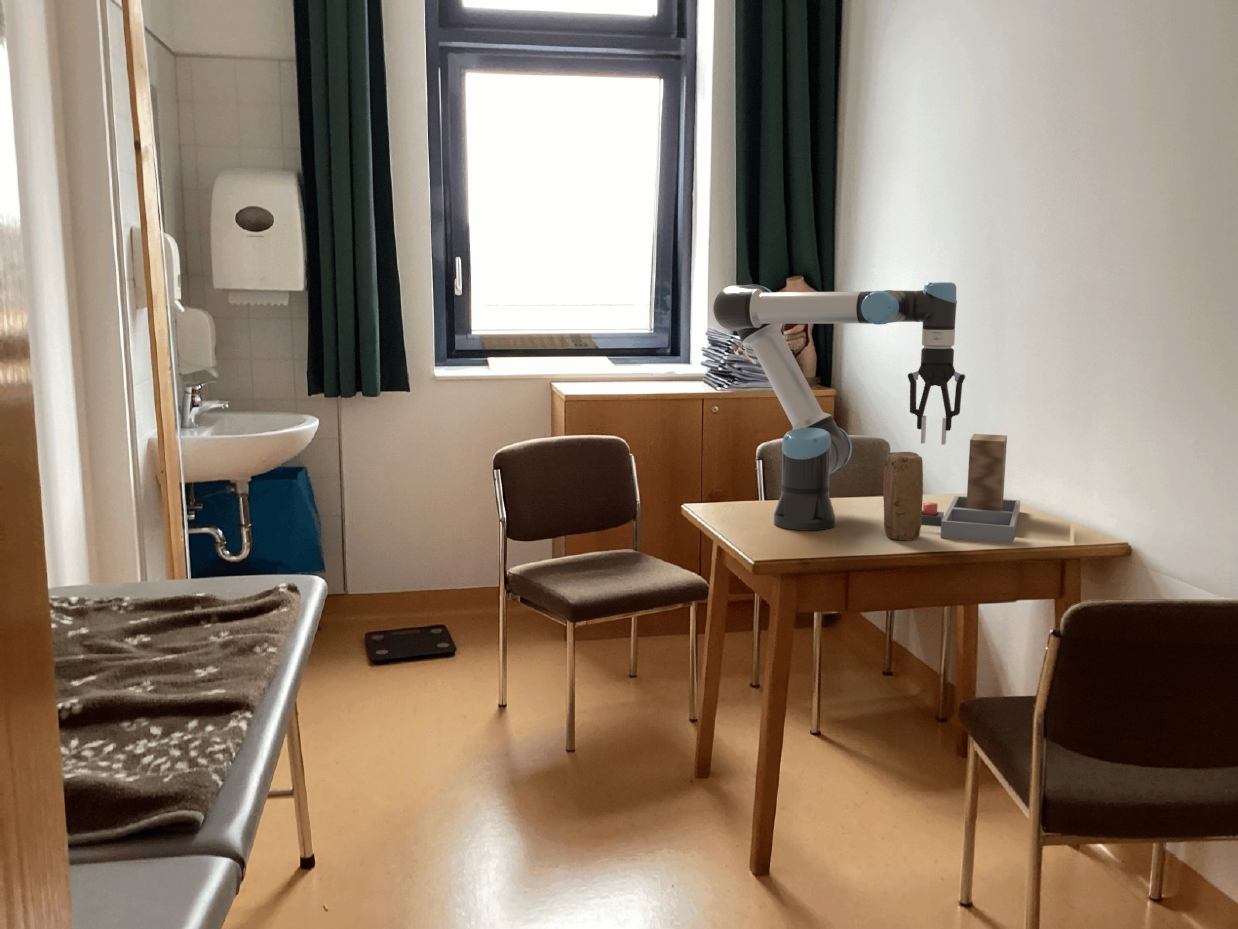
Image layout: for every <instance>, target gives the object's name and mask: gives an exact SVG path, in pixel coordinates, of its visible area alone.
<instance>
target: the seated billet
mask: <svg viewBox="0 0 1238 929" xmlns="http://www.w3.org/2000/svg"><path fill="white" fill-rule="evenodd" d="M1007 440H1008V435H1004V434H986V433H985V434H984V433H973V435H972V436H971V437H970V439H969V455H968V471H967V473H968V474H967V475H968V476H967V487H966V488H967V491H966V497H967V507H966V508H969V509H982V510H995V511H1003V499H1004V495H1005V494H1004V492H1005V476H1006V459H1007V458H1006V457H1007V445H1008V444H1007V442H1008V441H1007Z"/></svg>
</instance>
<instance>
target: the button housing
mask: <svg viewBox="0 0 1238 929" xmlns="http://www.w3.org/2000/svg"><path fill="white" fill-rule="evenodd" d="M944 515H945V512H944V511H937V516H931V515H923V510H922V522H921V525H930V526H931V525H932V526H941V521H942V519H943V517H944Z"/></svg>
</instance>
